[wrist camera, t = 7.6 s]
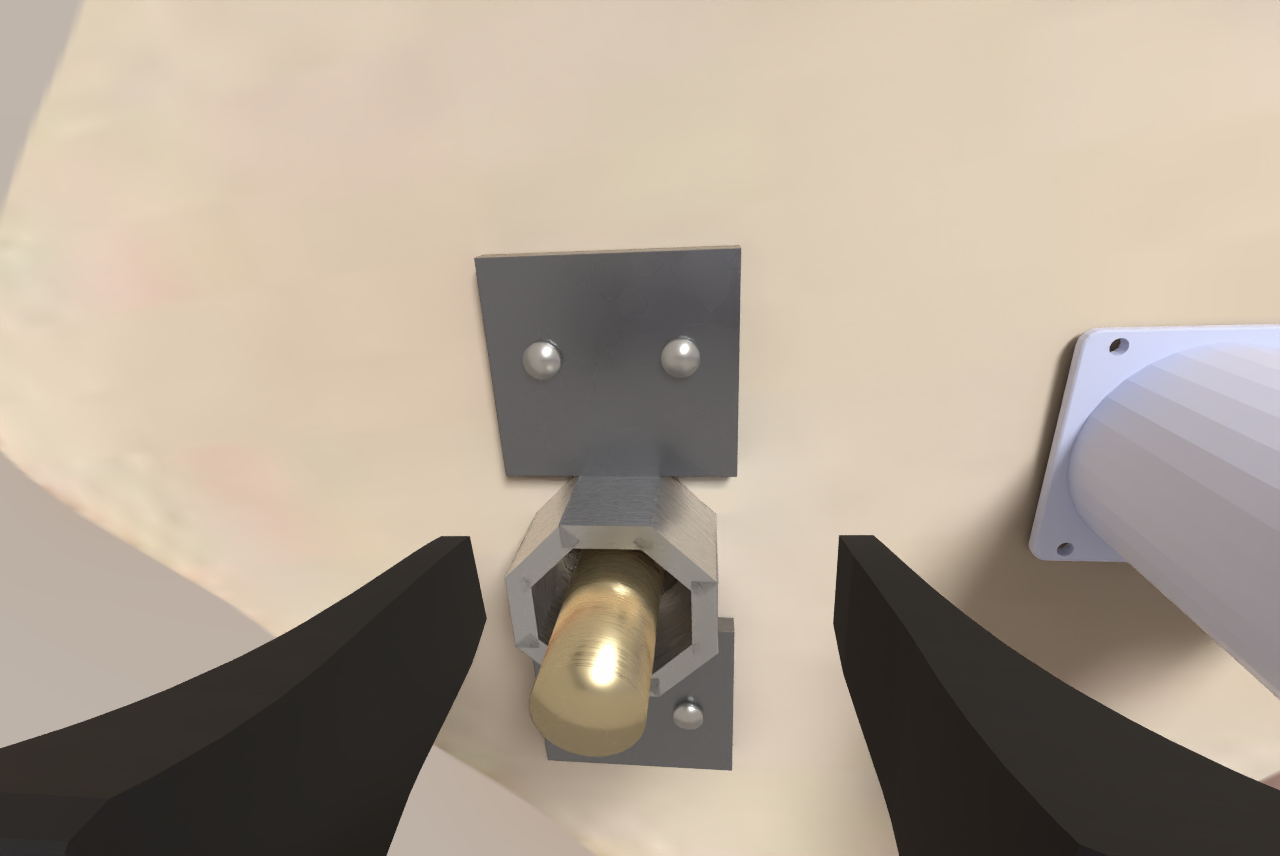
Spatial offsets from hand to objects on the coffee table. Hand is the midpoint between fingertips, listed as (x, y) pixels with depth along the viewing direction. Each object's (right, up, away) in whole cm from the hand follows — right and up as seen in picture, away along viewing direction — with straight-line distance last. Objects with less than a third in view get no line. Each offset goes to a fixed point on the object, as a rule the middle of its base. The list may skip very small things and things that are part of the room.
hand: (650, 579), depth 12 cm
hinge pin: (-1, -1, +11) cm, 11 cm away
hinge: (-1, -1, +11) cm, 11 cm away
